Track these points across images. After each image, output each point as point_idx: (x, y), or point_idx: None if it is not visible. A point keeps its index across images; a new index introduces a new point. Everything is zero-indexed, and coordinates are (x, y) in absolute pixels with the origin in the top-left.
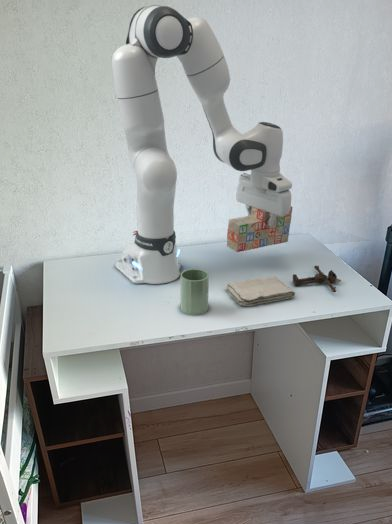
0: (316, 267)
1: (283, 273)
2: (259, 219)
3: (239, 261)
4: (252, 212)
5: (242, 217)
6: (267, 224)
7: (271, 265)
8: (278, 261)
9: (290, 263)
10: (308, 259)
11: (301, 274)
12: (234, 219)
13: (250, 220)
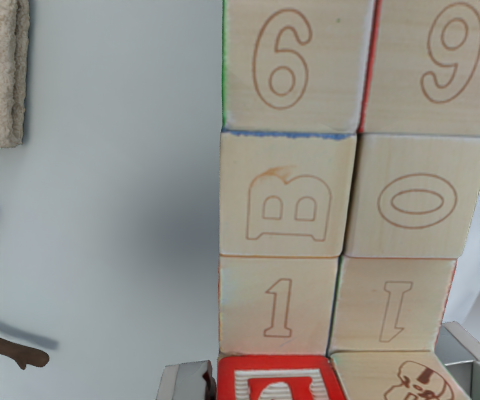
0: (24, 356)
1: (92, 233)
2: (275, 355)
3: None
4: (439, 390)
5: (450, 226)
6: (188, 365)
7: (184, 240)
8: (201, 288)
9: (160, 315)
10: (156, 389)
11: (51, 286)
12: (470, 72)
13: (303, 246)
